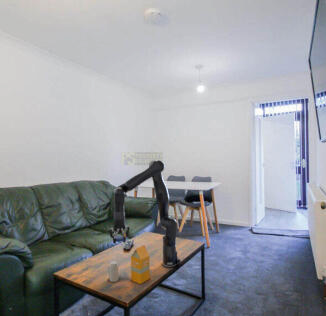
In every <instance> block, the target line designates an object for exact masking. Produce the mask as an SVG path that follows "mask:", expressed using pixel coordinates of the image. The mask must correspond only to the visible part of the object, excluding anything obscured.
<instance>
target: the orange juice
mask: <svg viewBox="0 0 326 316" xmlns="http://www.w3.org/2000/svg"><path fill="white" fill-rule="evenodd" d="M130 280H131V281H132V282H134V283H137V284H140V285H142V284H143V283H145V282H146V281H148V280H150V254H149V252H148V250H147V247H146V245H145V244H144V245H141V246H139V247H137V248H135V249H134V251H133V253H132V255H131V256H130Z"/></svg>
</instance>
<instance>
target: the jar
mask: <svg viewBox="0 0 326 316" xmlns="http://www.w3.org/2000/svg"><path fill="white" fill-rule="evenodd" d="M109 281H110V282H112V283H116V282H118V281H119V263H118V261H116V260H112V261H110V263H109Z"/></svg>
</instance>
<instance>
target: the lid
mask: <svg viewBox="0 0 326 316" xmlns="http://www.w3.org/2000/svg"><path fill="white" fill-rule="evenodd" d="M123 241H124V237H123V235H116V243H121V242H122V243H123Z"/></svg>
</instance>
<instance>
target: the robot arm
mask: <svg viewBox="0 0 326 316" xmlns="http://www.w3.org/2000/svg"><path fill="white" fill-rule="evenodd" d="M164 170H165V163H164V162H163V161H162V160H159V159H152V160H151V161H149V163H148V168H146V169H145V170H143V171H141V172H140V173H137V174H135V175H134V176H132V177H130V179H127V181H125V182H123V183H122V184H120V185H118V186H117V187H115V188H114V190H113V192H112V195H113V196H114V203H113V226H112V227H109V228H108V233H109V237H110V238H111V239H112V243H113V244H114V245H116V244H117V242H116V236H118V234H122V236H123V237H124V241H122V243H124V244H126V242H127V237H128V236H129V235H130V226H129V225H126V212H125V200H126V199H125V198H126V194H127V193H129V192H132V191H133V190H134V189H136V188H138V187H139V186H140V185H142V184H143V183H144V182H146V181H147V180H150V179H151V178H152V183H153V190H154V195H155V199H156V204H157V209H158V213H159V214H158V215H159V222H160V226H161V228H162V229H163V230H165V234H164V235H162V266H163V267H166V268H175V267H176V266H178V265H179V264H181V259H180V258H179V257H178V251H177V236H178V222H177V220H176V219H175V218H173V217H171V216H170V213H169V205H170V194H169V190H168V187H167V185H166V183H165V180H164V178H163V172H164Z"/></svg>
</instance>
